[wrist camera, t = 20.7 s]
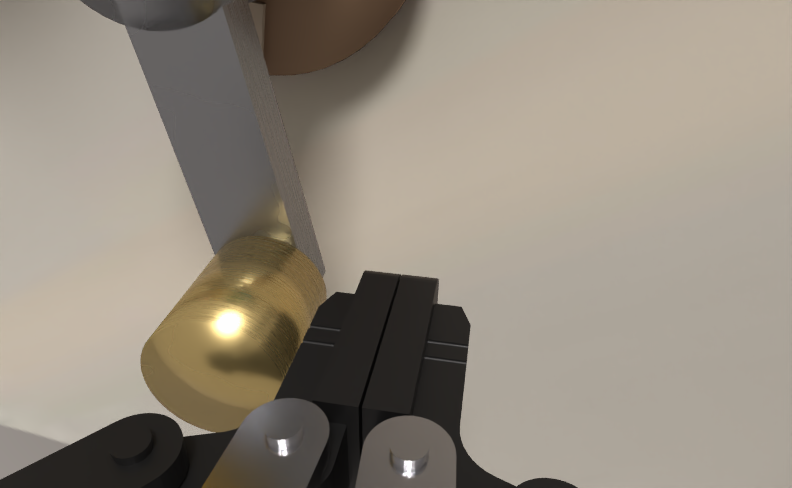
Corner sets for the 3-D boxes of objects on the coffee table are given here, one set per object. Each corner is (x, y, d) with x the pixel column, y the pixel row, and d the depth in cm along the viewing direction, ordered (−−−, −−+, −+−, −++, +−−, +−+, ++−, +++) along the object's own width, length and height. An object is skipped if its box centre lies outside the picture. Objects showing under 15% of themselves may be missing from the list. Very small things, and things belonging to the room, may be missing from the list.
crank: (6, -224, 10) (-277, -297, 6) (235, -297, 9) (60, -433, 5) (222, 310, 16) (138, 436, 12) (379, 300, 15) (341, 432, 11)
